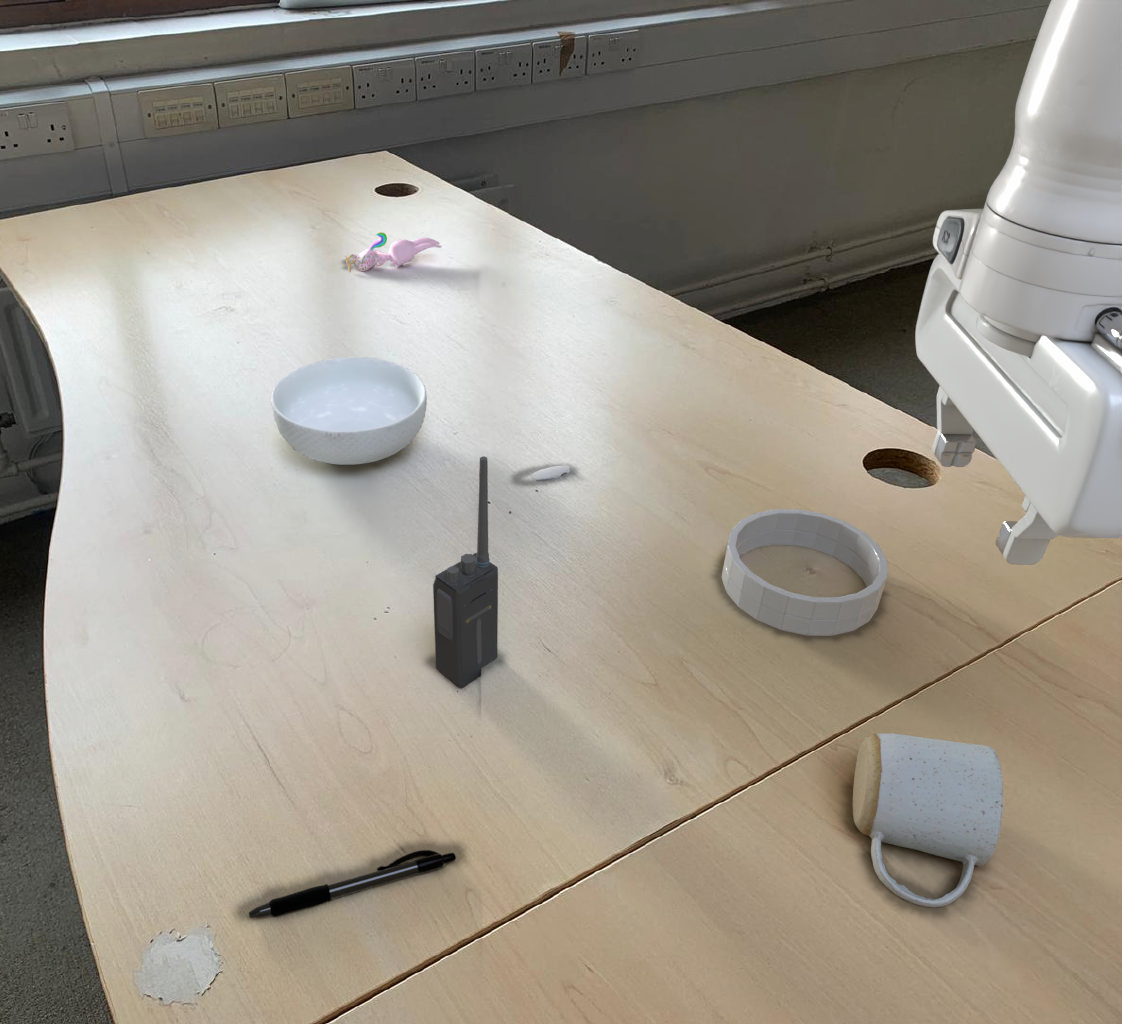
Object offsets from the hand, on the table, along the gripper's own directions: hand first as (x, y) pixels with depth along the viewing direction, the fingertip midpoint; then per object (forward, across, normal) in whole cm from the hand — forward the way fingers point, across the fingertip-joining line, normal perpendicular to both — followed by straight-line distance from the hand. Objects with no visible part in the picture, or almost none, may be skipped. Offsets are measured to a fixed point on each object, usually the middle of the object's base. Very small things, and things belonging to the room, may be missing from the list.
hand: (979, 505), depth 56 cm
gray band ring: (+26, +23, 0) cm, 35 cm away
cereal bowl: (+26, +48, +43) cm, 69 cm away
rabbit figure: (+26, +102, +43) cm, 113 cm away
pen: (+26, -8, +36) cm, 45 cm away
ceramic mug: (+26, -4, -2) cm, 26 cm away
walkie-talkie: (+26, +13, +29) cm, 41 cm away
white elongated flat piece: (+26, +41, +22) cm, 53 cm away
